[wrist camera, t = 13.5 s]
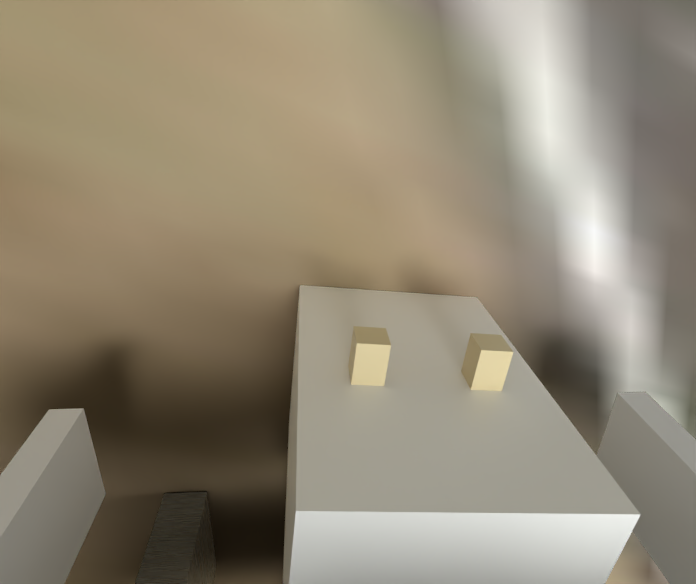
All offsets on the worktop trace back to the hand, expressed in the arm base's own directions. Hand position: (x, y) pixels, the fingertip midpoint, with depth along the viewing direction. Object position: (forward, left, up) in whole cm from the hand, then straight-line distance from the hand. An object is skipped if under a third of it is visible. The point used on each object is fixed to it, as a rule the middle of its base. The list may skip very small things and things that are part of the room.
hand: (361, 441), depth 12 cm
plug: (+1, -5, -4) cm, 7 cm away
